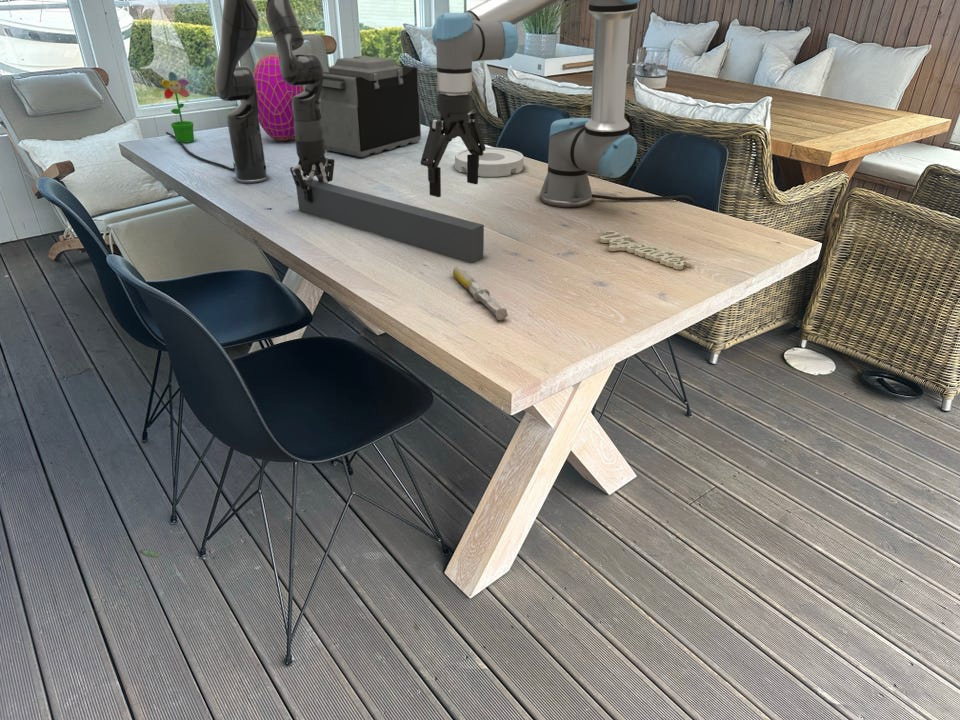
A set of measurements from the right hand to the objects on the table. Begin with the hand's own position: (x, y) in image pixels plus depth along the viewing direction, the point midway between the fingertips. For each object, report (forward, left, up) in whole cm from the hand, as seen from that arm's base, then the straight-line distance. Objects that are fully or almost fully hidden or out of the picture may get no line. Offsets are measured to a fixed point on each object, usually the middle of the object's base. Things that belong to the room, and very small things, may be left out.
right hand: (454, 189), depth 160 cm
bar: (+23, -4, -15) cm, 27 cm away
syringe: (-16, +21, -15) cm, 31 cm away
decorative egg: (+111, -73, -15) cm, 134 cm away
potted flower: (+142, -54, -15) cm, 153 cm away
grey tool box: (+76, -81, -15) cm, 112 cm away
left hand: (+47, -9, -12) cm, 50 cm away
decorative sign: (-41, -19, -15) cm, 48 cm away
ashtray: (+24, -73, -15) cm, 79 cm away
